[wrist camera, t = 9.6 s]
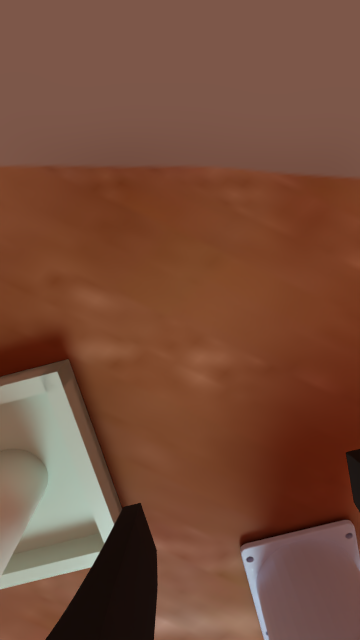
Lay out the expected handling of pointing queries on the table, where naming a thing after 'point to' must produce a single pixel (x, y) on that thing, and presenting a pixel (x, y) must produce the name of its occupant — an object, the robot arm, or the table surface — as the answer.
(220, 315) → the table surface
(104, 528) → the trough tray
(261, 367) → the table surface
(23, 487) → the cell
